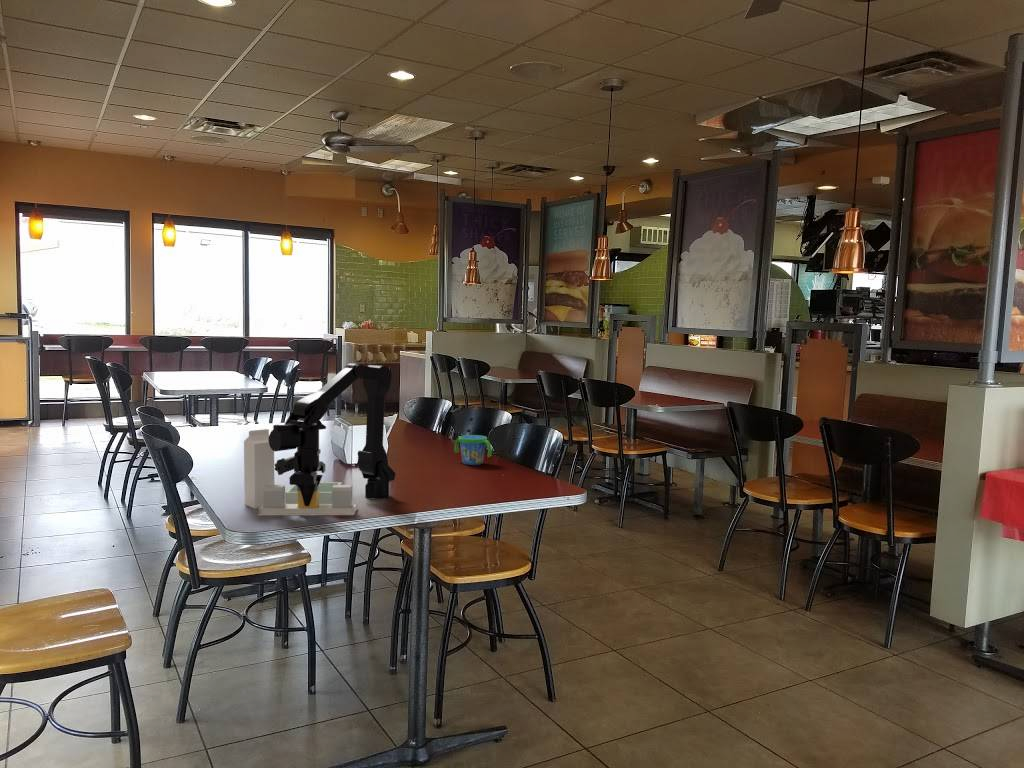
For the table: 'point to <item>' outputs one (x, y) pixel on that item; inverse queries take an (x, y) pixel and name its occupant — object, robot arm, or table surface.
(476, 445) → the snack cup
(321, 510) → the fuse holder
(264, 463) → the milk
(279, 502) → the block
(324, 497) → the green tray
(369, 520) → the table surface
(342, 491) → the block
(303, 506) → the block
